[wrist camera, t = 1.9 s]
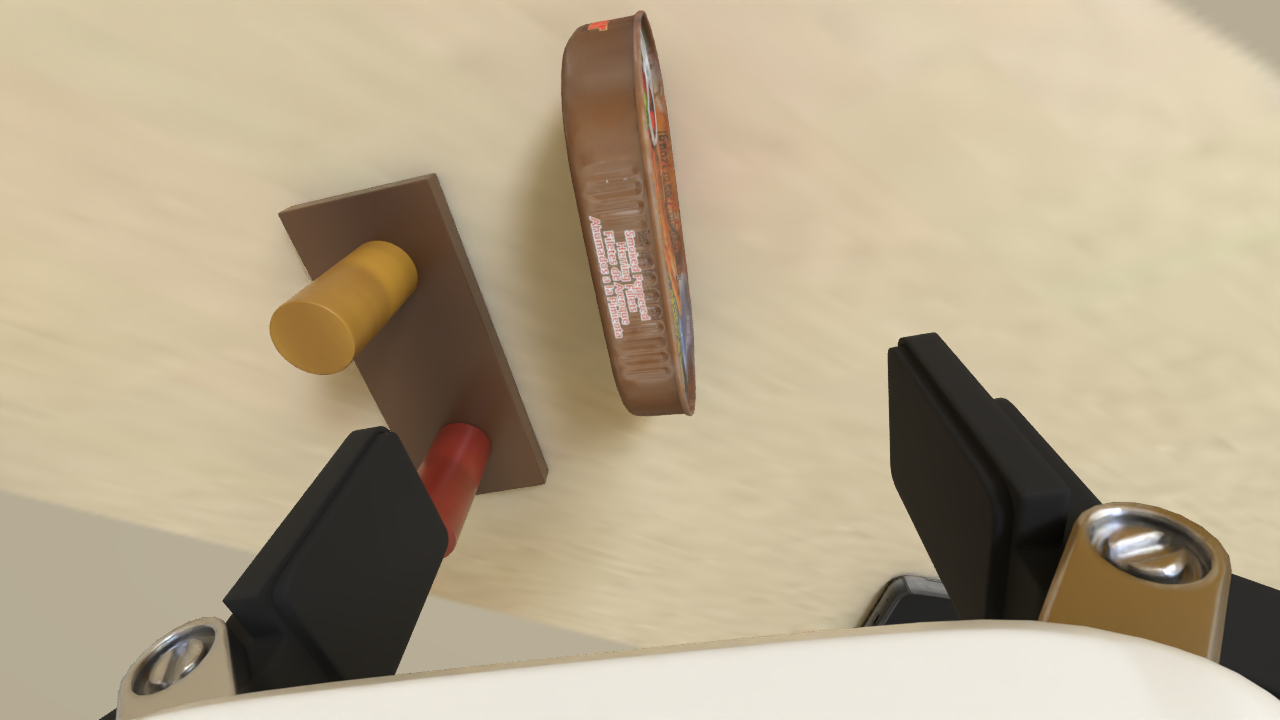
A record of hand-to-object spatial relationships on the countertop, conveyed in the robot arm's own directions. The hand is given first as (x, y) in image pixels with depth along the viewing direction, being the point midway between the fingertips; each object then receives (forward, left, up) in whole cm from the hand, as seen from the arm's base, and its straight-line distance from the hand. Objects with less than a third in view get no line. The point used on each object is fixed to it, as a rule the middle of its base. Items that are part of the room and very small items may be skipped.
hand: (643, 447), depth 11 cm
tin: (0, 0, -18) cm, 18 cm away
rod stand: (-12, -5, -18) cm, 22 cm away
